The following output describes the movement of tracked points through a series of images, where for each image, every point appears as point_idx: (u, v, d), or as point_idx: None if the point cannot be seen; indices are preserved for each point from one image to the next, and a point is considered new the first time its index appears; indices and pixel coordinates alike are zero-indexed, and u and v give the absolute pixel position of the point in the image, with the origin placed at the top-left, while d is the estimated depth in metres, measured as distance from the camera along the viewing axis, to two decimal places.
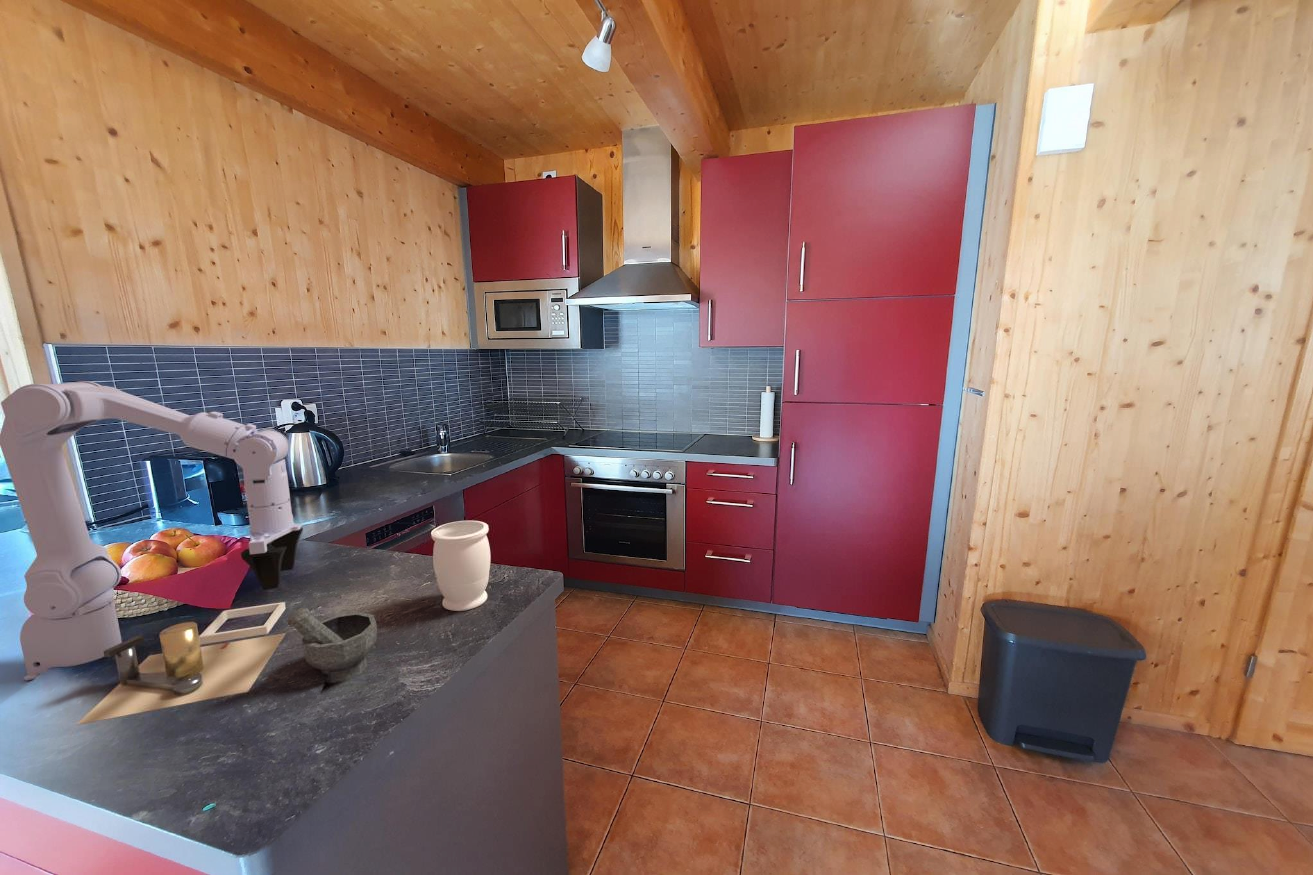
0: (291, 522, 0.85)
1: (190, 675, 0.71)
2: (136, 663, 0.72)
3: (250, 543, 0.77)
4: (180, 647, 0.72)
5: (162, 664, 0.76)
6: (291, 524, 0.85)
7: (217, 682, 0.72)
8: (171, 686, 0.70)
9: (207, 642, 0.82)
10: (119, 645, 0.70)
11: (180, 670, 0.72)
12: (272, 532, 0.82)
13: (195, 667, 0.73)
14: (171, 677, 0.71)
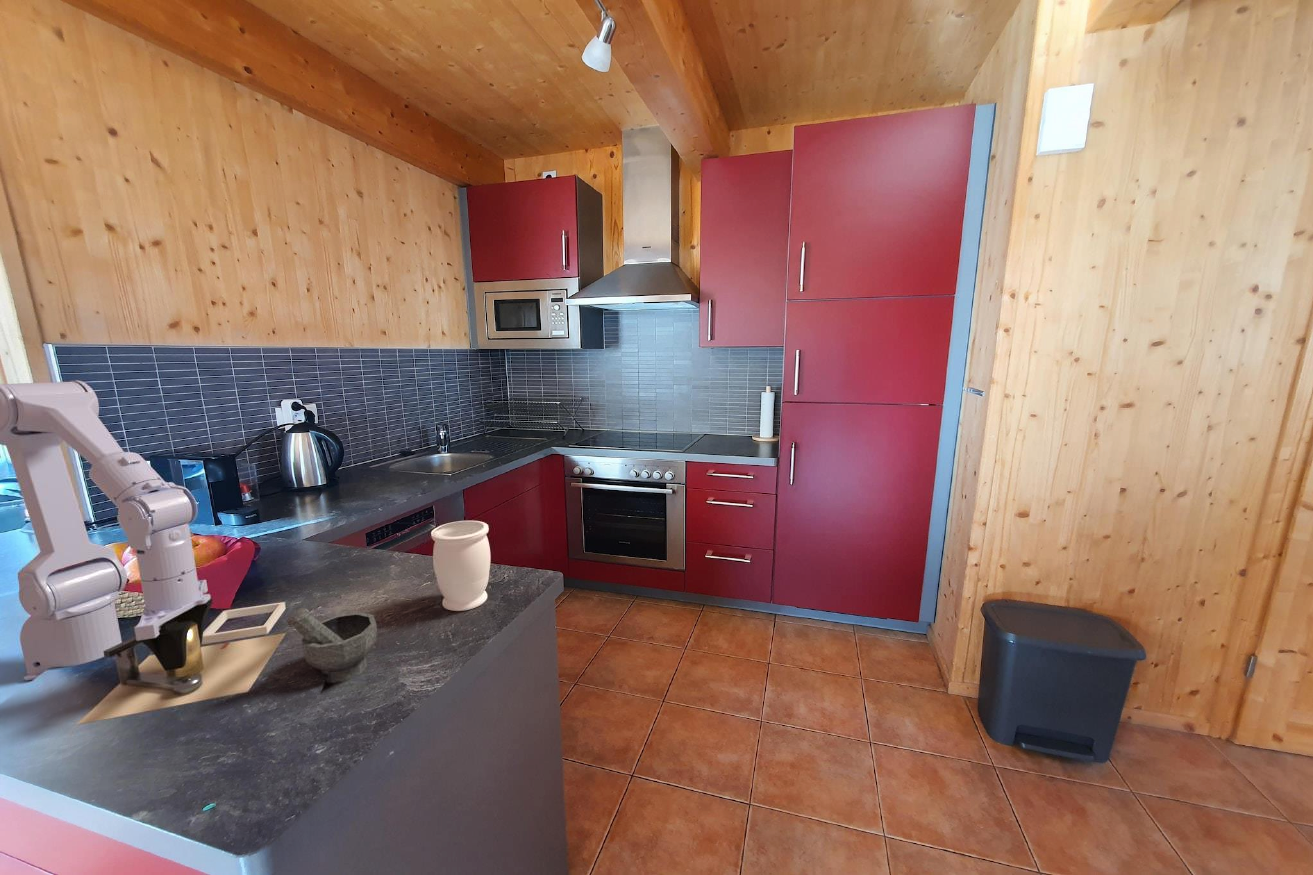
0: (197, 594, 0.73)
1: (190, 675, 0.71)
2: (136, 663, 0.72)
3: (136, 627, 0.65)
4: None
5: None
6: (196, 597, 0.73)
7: (217, 682, 0.72)
8: (171, 686, 0.70)
9: (207, 642, 0.82)
10: (119, 645, 0.70)
11: (180, 670, 0.72)
12: (169, 609, 0.70)
13: (195, 667, 0.73)
14: (171, 677, 0.71)
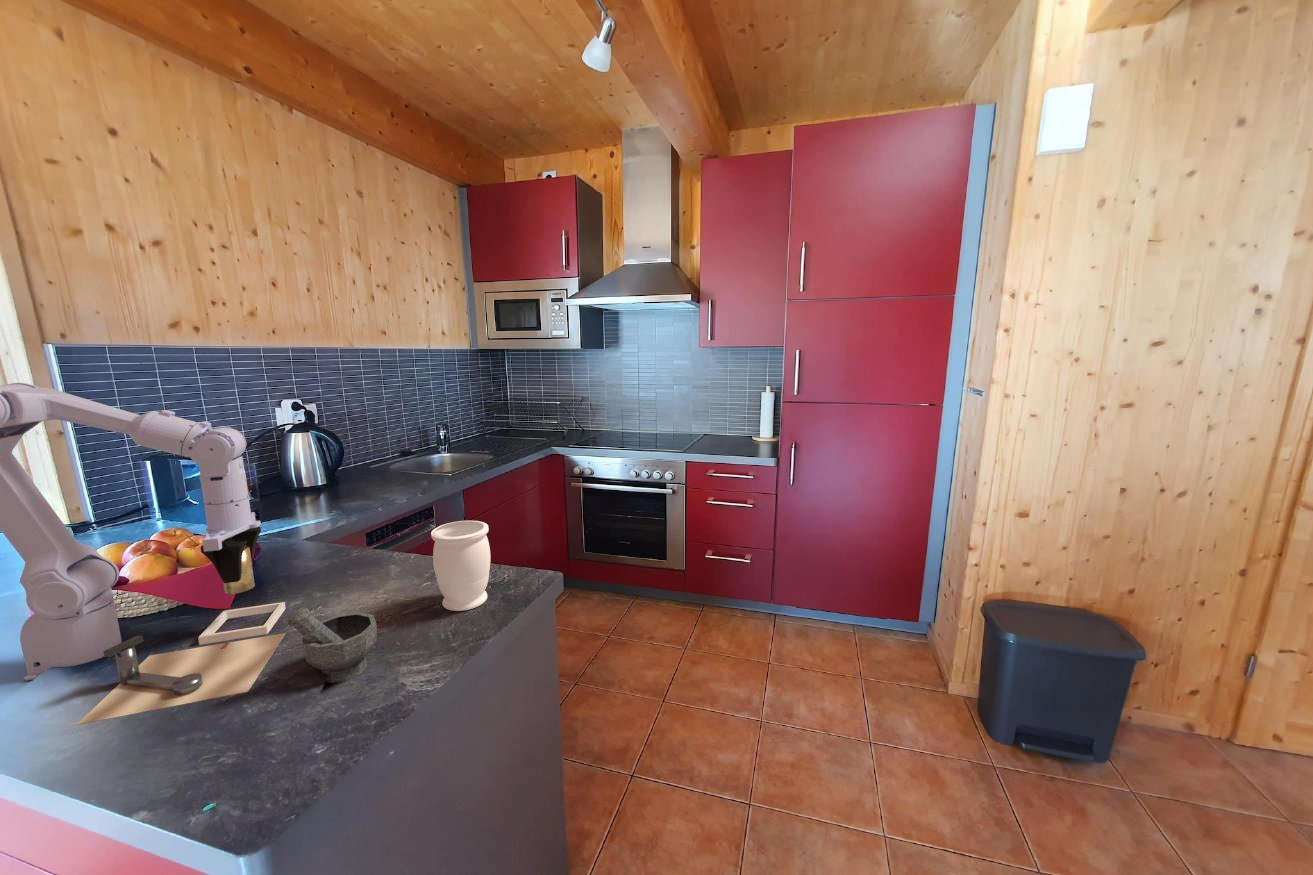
0: (250, 519, 0.85)
1: (190, 675, 0.71)
2: (136, 663, 0.72)
3: (204, 540, 0.77)
4: None
5: (162, 664, 0.76)
6: (249, 521, 0.85)
7: (217, 682, 0.72)
8: (171, 686, 0.70)
9: (207, 642, 0.82)
10: (119, 645, 0.70)
11: (237, 584, 0.84)
12: (228, 529, 0.82)
13: (249, 583, 0.85)
14: (171, 677, 0.71)
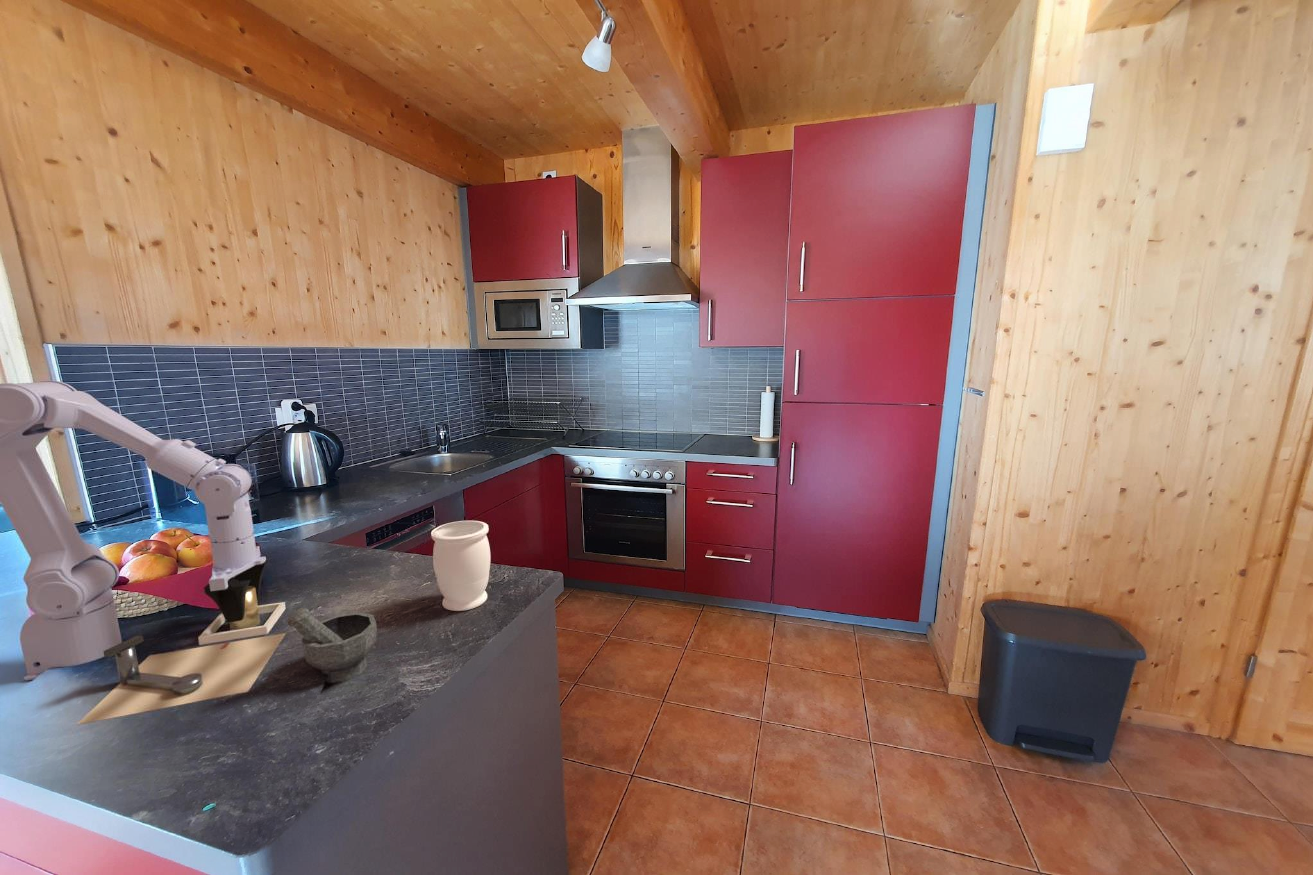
0: (255, 555, 0.86)
1: (190, 675, 0.71)
2: (136, 663, 0.72)
3: (210, 580, 0.78)
4: None
5: (162, 664, 0.76)
6: (255, 558, 0.86)
7: (217, 682, 0.72)
8: (171, 686, 0.70)
9: (207, 642, 0.82)
10: (119, 645, 0.70)
11: (243, 625, 0.85)
12: (234, 567, 0.83)
13: (255, 623, 0.87)
14: (171, 677, 0.71)
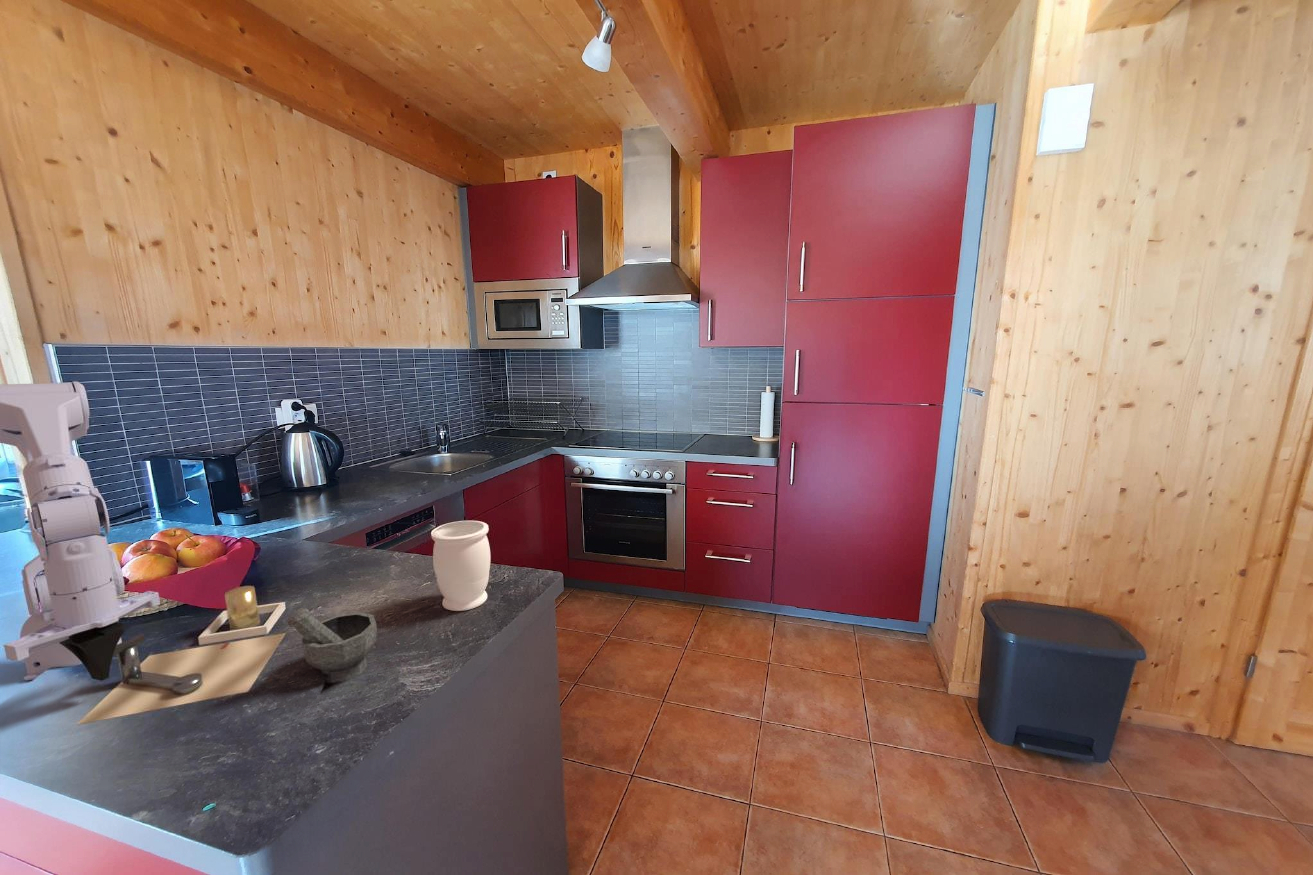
0: (101, 614, 0.66)
1: (190, 675, 0.71)
2: (138, 662, 0.72)
3: (5, 645, 0.60)
4: (243, 605, 0.85)
5: (162, 664, 0.76)
6: (100, 617, 0.66)
7: (217, 682, 0.72)
8: (171, 686, 0.70)
9: (207, 642, 0.82)
10: (121, 644, 0.71)
11: (243, 625, 0.85)
12: (64, 627, 0.64)
13: (255, 622, 0.87)
14: (172, 677, 0.71)
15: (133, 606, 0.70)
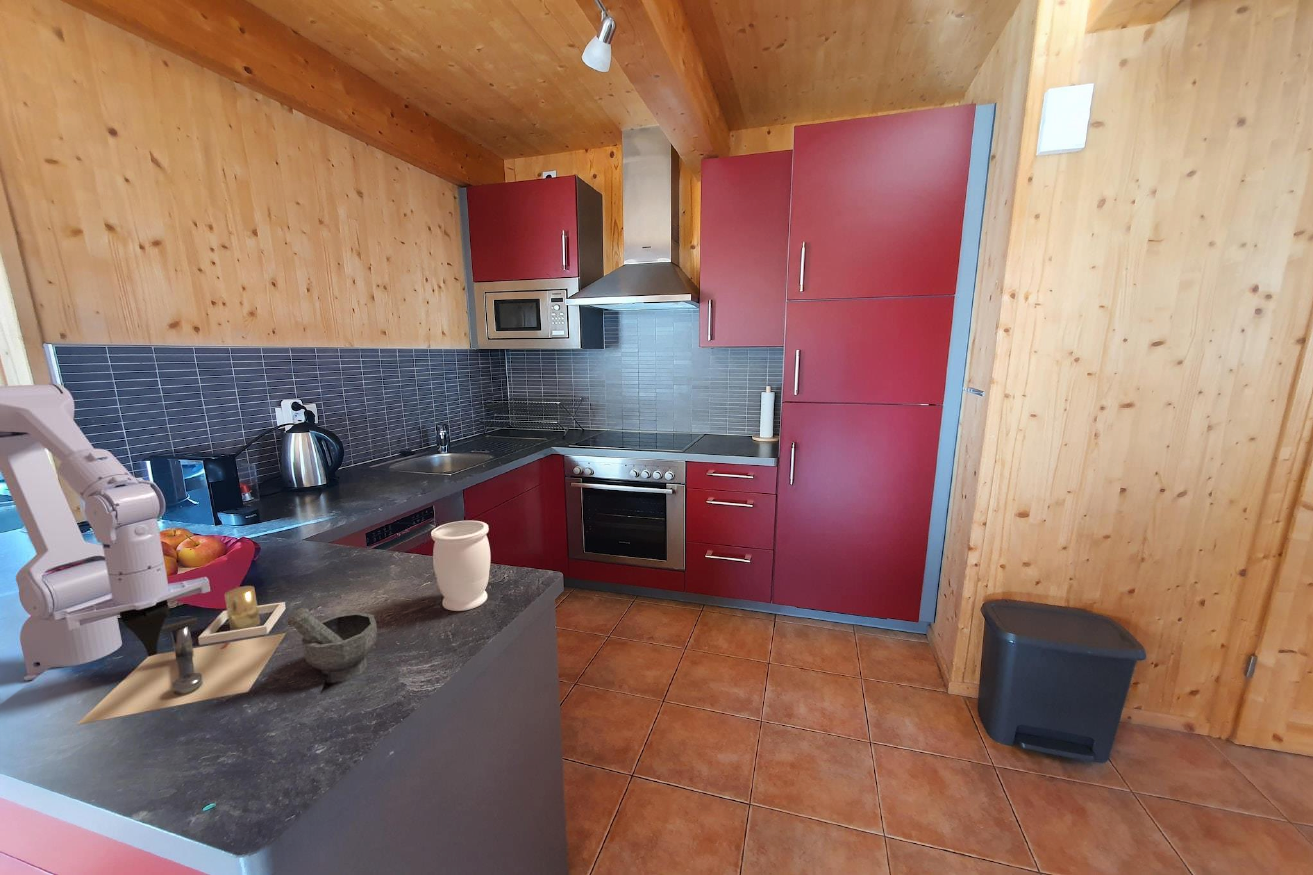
0: (142, 597, 0.71)
1: (195, 675, 0.71)
2: (187, 644, 0.76)
3: (66, 614, 0.68)
4: (243, 605, 0.85)
5: (162, 664, 0.76)
6: (141, 599, 0.71)
7: (217, 682, 0.72)
8: None
9: (207, 642, 0.82)
10: (174, 624, 0.76)
11: (243, 625, 0.85)
12: (114, 603, 0.70)
13: (255, 622, 0.87)
14: (191, 669, 0.73)
15: (179, 591, 0.74)
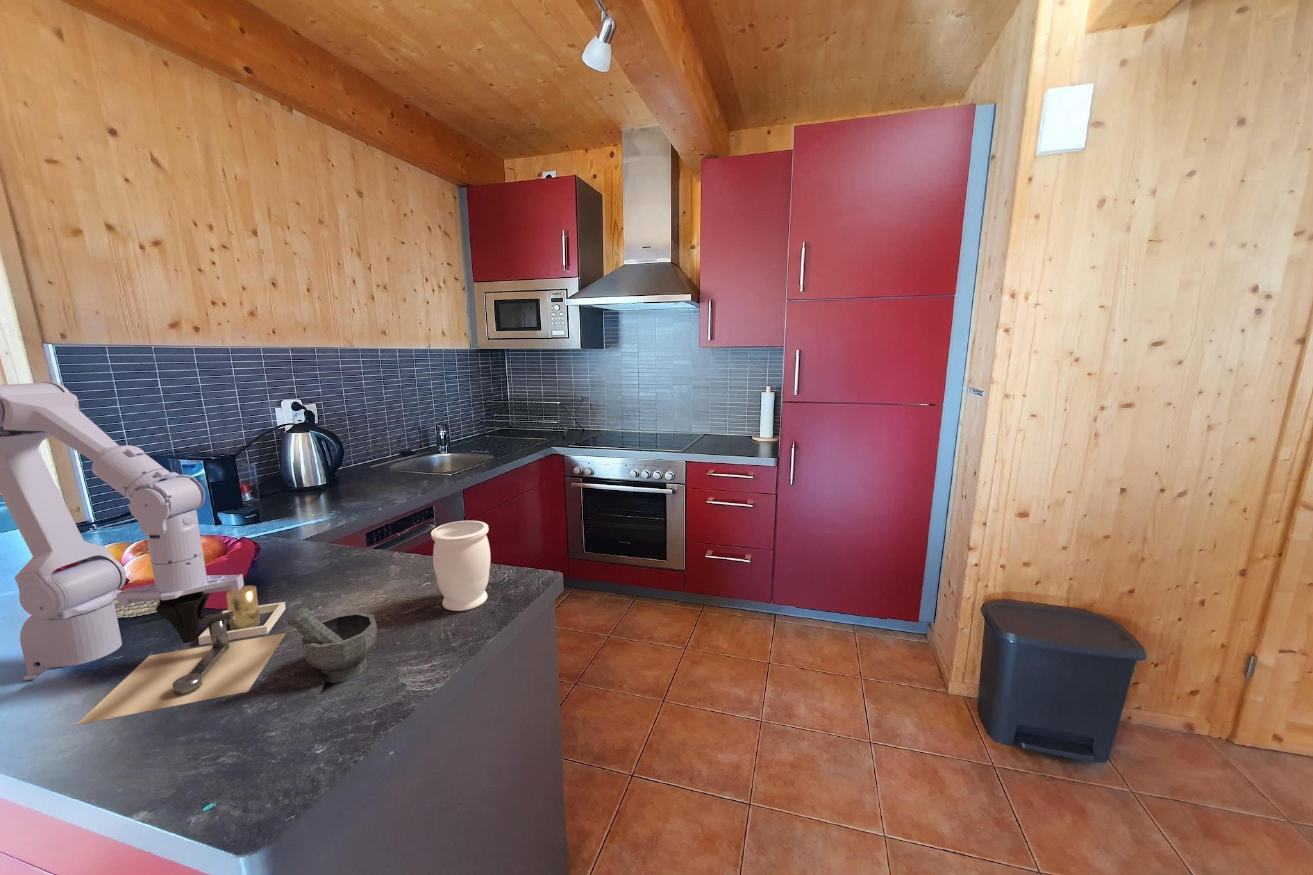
0: (170, 588, 0.74)
1: (197, 676, 0.71)
2: (220, 637, 0.78)
3: (124, 590, 0.75)
4: (245, 605, 0.85)
5: (162, 664, 0.76)
6: (169, 590, 0.74)
7: (217, 682, 0.72)
8: None
9: (207, 642, 0.82)
10: (211, 616, 0.78)
11: (244, 624, 0.85)
12: (156, 589, 0.75)
13: (256, 622, 0.87)
14: (204, 667, 0.73)
15: (206, 587, 0.76)
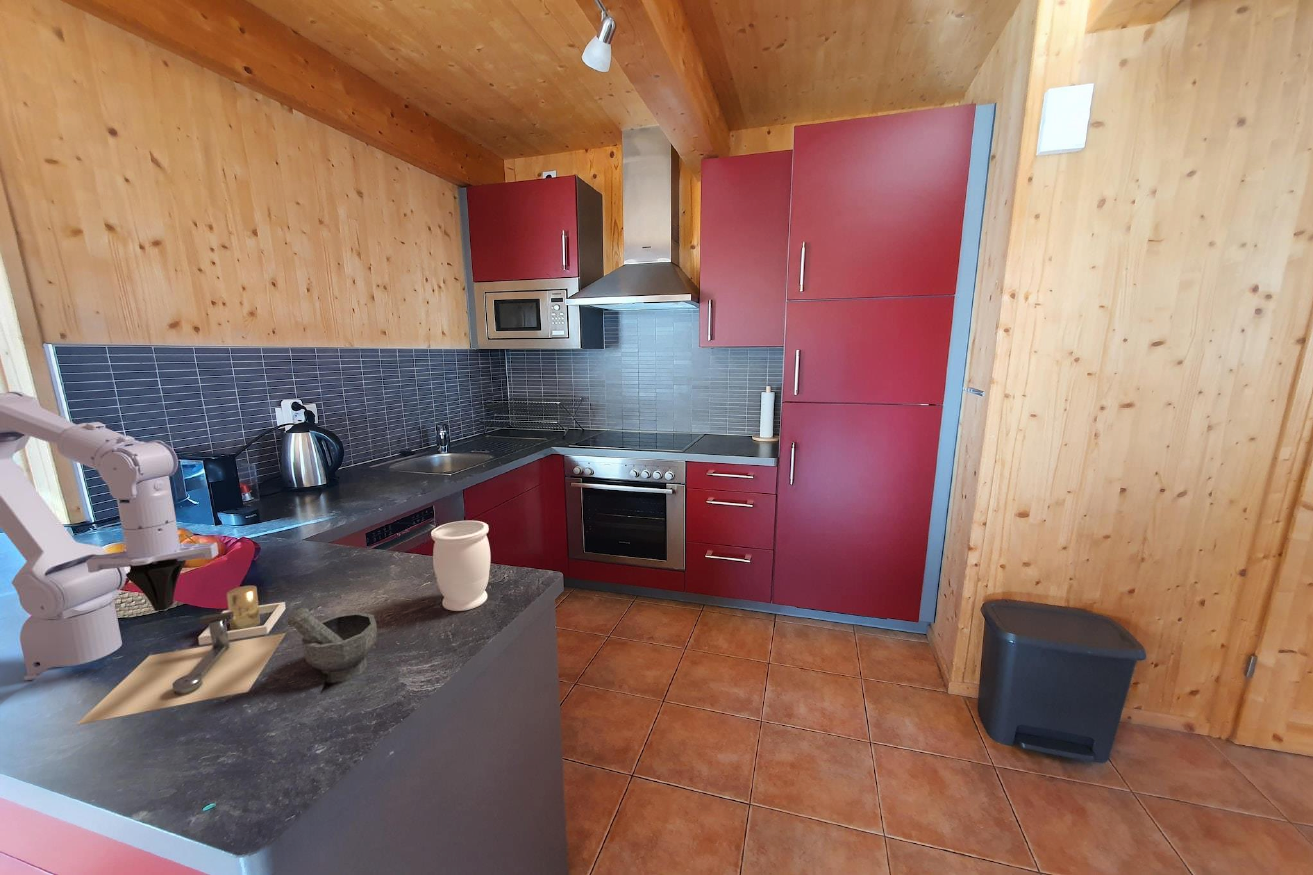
0: (141, 553, 0.73)
1: (197, 676, 0.71)
2: (220, 637, 0.78)
3: (94, 556, 0.74)
4: (246, 605, 0.85)
5: (162, 664, 0.76)
6: (140, 556, 0.73)
7: (217, 682, 0.72)
8: None
9: (207, 642, 0.82)
10: (212, 616, 0.78)
11: (245, 624, 0.85)
12: None
13: (256, 622, 0.87)
14: (204, 667, 0.73)
15: (179, 554, 0.75)
